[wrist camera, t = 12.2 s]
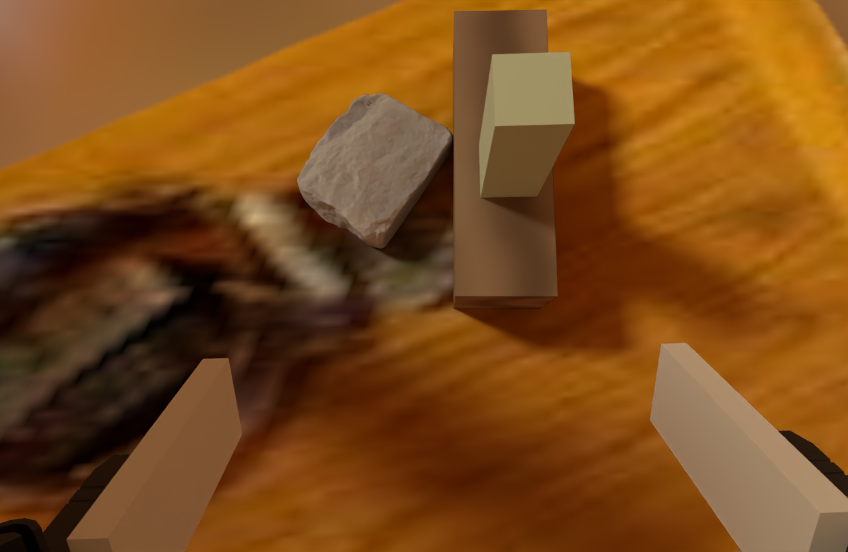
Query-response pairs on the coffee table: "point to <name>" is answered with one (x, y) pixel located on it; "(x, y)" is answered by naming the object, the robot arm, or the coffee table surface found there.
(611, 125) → the coffee table surface
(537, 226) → the walnut beam
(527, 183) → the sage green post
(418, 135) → the stone block
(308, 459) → the coffee table surface
